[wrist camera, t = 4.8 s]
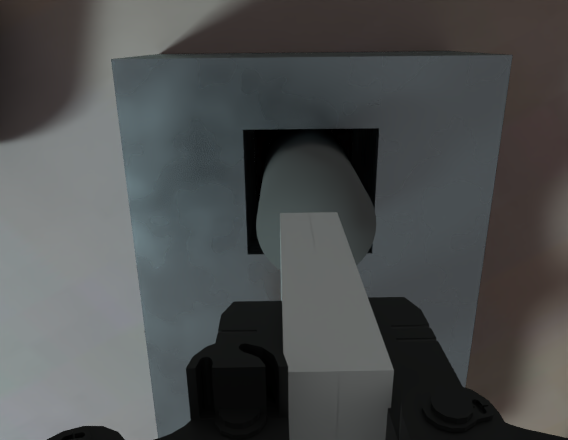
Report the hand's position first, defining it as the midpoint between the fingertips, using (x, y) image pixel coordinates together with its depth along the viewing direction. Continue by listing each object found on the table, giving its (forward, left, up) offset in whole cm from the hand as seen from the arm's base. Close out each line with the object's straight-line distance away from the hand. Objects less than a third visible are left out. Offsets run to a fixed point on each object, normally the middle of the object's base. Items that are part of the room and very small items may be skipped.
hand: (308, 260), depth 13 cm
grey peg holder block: (0, -8, -13) cm, 15 cm away
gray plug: (0, 0, -12) cm, 12 cm away
